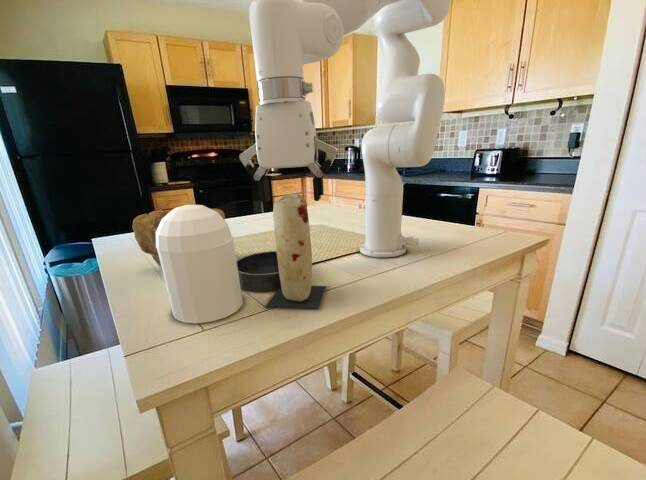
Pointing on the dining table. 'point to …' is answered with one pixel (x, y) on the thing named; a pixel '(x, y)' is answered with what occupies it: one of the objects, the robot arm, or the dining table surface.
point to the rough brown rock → (152, 231)
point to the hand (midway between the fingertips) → (291, 200)
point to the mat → (309, 303)
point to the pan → (259, 272)
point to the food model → (293, 246)
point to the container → (198, 264)
